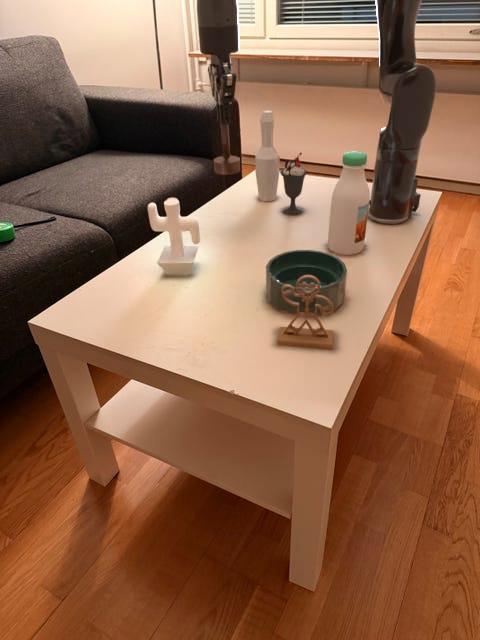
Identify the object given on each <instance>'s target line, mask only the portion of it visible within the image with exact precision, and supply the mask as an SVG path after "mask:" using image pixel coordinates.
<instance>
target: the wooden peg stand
mask: <svg viewBox="0 0 480 640" xmlns="http://www.w3.org/2000/svg"><path fill="white" fill-rule="evenodd" d="M229 128H230V127H229V124H228V125H222V124H221V123H220V136H221V137H220V138H221V150H222V153H221V154H222V155H221V156H217V157H215V158H213V169H214V173H215V174H217V175H221V176H228V175H235V174H237V173H239V172H241V160H240V159H241V158H240V157H238V156H236V155H231V148H230V147H231V146H230V129H229Z"/></svg>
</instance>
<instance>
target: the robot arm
mask: <svg viewBox="0 0 480 640" xmlns="http://www.w3.org/2000/svg"><path fill="white" fill-rule="evenodd" d="M238 3H239V2H238V0H196V18H197V29H198V30H197V31H198V42H199V43H198V44H199V52H200V53H201V54H202V55H206V56H207V55H208V56H209V55H210V63H209V64H208V67H207V72H208V77H209V78H208V79H209V82H210V83H209V84H210V88H211V95H212V97H213V98H214V102H215V103H216V119H217V120H216V121H217V122H218V123H220V125H221V124H222V125H228V126H229V125H231V124H232V108H231V104H233V103H234V102H235V94H236V85H237V73H236V72H235V71H234V63H232V61H231V54H235V53H238V52H239V51H240V49H241V45H240V44H241V43H240V23H239V22H240V21H239V19H240V18H239V4H238ZM375 5H376V18H377V27H378V28H377V29H378V39H379V40H378V41H379V66H378V67H379V68H378V69H379V70H378V88H379V89H378V90H379V94H380V98H381V100H382V102H383V103H384V104H385V105H386V106H387V107H389V108H390V110H389V116H388V121H387V125H386V126H385V127H383V128H381V130H379V132H378V138H377V145H376V153H375V161H374V169H373V177H372V183H371V191H370V200H369V210H368V218H369V219H370V220H371V221H373V222H374V223H375V222H376V223H379V224H385V225H397V224H402V223H405V222H406V221H407V220H410V219H412V215H413V213H416V212H417V211H418V209H419V207H420V201H421V196H422V195H421V194H420V193H418V192H417V189H418V182H419V179H418V178H417V177H416V173H417V168H418V163H419V157H420V151H421V145H422V142H423V141H422V140H423V138H424V136H425V135H426V133H427V131H428V128H429V126H430V121H431V116H432V113H433V108H434V104H435V99H436V93H437V76H436V74H435V72H434V71H433V69H432V68H431V67H430V66H428V65H426V64H423V63H419V62H418V59H417V53H416V24H417V20H418V15H419V11H420V8H421V5H422V0H375Z"/></svg>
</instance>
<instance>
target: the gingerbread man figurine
mask: <svg viewBox="0 0 480 640" xmlns="http://www.w3.org/2000/svg"><path fill="white" fill-rule="evenodd" d="M306 278H310V279H313V280H315V281H316V282H317V283H318V285H315V283H314V282H311V283H310V284H307V283H306V282H302V284H298V283H299V282H300V281H301V280H303V279H306ZM298 286H302V287H301V291H302V292H301V291H300V290H299V288H298ZM306 287H310V288H313V289H312V290H310V291H307V290H305V289H303V288H306ZM314 287H318V289H317V291H316V292H315V288H314ZM284 288H290V289H291V290H289V291H287V290H286V291H285V292H284V291H283V289H284ZM296 290H297V292H298V293H299V294H298V293H295V291H294V287H293V286H292V285H290V284H285V285H284V286H283V287H282V289H281V294H282V297H283V299H284V300H285V301H286V302H287V303H289V304H291V305H294V306H297V315H295V316H294V317H293V318H292V320H291V321H290V322H289V324H288V325H287V326H280V327H279V328H278V333H277V338H276V345H277V346H285V347H296V348H309V349H310V348H311V349H322V350H333V349H334V335H335V333H334V331H333V330H331V329H326V328H325V327H324V326H323V324H322V322H321V320H320V319H319V317H318V315H316V313H317V307H318V308H320V310H321V314H320V315H322V316H323V317H330V316H332V315H333V314H334V310H333V304H332V302H331V301H330V300H329V299H328V298H327V297H325V296H322V295H317V294H318V293H319V291H320V281H319V280H318V279H317V278H316V277H315V276H312V275H304V276H302V277H300V278H299V279H298V280H297V283H296ZM313 292H314V293H313ZM311 293H312V294H311ZM286 294H287V295H289V294H293V295H294V296H296V297H302V302H304V301H306V302H305V306H306V308H305V313H304V312H302V313H301V312H299V303H297V302H292V301H290V300H289V299H287V298H286ZM305 294H307V296H305ZM309 294H310V296H309V297H308V295H309ZM313 298H320V299H323V300H325V301H327V302H328V303H329V304H330V305H329V307H328V306H326V307H323V308H322V306H321V305H319V304H315V313H309V308H308V306H309V301H310V302H313ZM326 310H328V311H329V310H331V311H330V312H328V313H325V312H323V311H326ZM299 317H303V318H304V317H305V318H306V319H305V320H304V321H303V322H302V323H301V325H300V326H299V327H296V326H295V325H294V326H293V324H294V323H295V322H296V320H297V319H298V318H299ZM307 318H314V319H315V321H316V322H317V324H318V326H319V327H317V328H313V326H312V325H311V323H310V322H309V320H308V319H307ZM305 325H307V328H305Z"/></svg>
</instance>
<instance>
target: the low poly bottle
mask: <svg viewBox="0 0 480 640" xmlns="http://www.w3.org/2000/svg"><path fill="white" fill-rule="evenodd" d="M259 122H260V131H261V146H260V148H259V150H258V151H257V153H256V154H255V155H254V163H255V167H254V169H255V177H256V178H255V179H256V180H255V181H256V186H257V194H258V199H259V200H260V201H262V202H273V201H275V200H277V194H278V186H279V178H280V164H281V163H280V157H281V155H280V154H279V153H278V151H277V150H276V148H275V147H274V129H275V127H274V126H275V117H274V115H273V111H272V110H262V112H261V116H260V121H259Z"/></svg>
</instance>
